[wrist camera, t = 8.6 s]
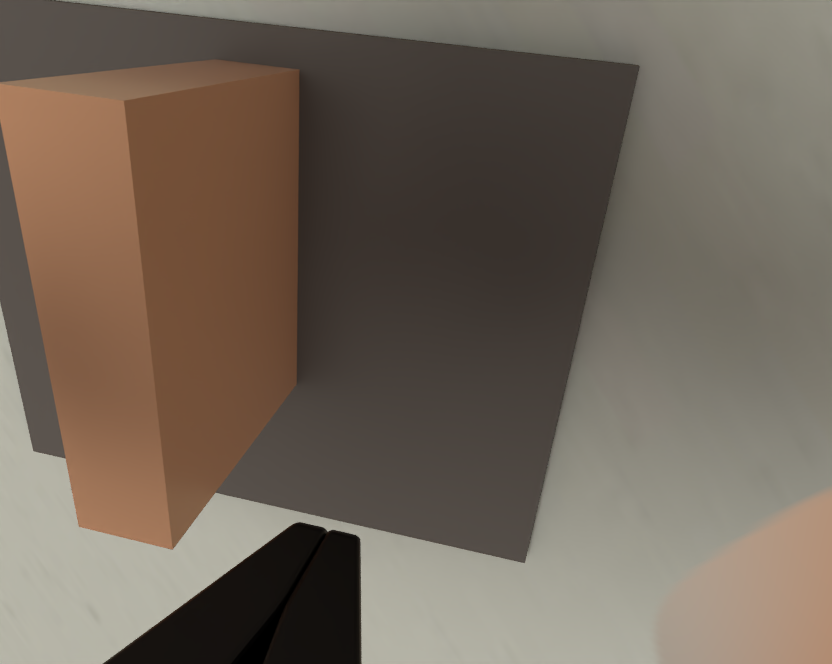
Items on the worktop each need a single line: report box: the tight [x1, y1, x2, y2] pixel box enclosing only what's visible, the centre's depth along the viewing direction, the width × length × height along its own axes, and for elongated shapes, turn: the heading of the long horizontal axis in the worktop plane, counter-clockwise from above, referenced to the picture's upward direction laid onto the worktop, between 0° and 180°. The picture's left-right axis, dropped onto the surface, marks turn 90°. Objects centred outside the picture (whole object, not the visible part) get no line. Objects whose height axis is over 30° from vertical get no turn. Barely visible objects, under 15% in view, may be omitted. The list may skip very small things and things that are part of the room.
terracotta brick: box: [0, 59, 299, 550], centre depth 15 cm, size 2×9×7 cm, turn 175°
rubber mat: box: [0, 0, 640, 563], centre depth 19 cm, size 18×15×1 cm
